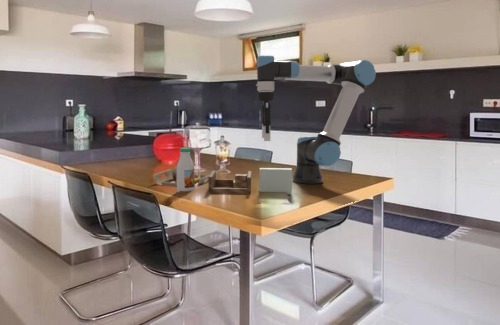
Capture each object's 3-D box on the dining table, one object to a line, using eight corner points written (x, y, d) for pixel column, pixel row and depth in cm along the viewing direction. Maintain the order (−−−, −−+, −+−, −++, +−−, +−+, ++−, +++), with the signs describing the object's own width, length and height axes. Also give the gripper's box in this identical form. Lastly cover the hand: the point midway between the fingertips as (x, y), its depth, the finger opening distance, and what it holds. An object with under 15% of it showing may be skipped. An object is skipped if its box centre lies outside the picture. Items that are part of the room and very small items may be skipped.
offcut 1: (247, 180, 182) (247, 174, 182) (246, 182, 178) (246, 176, 177) (236, 180, 182) (236, 173, 182) (235, 182, 178) (235, 175, 178)
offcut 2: (246, 186, 183) (246, 180, 183) (246, 188, 178) (246, 182, 178) (233, 186, 183) (233, 180, 183) (233, 188, 178) (233, 182, 178)
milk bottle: (177, 194, 172) (177, 149, 169) (176, 191, 180) (175, 147, 177) (195, 194, 174) (195, 148, 171) (193, 190, 182) (192, 146, 179)
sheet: (290, 192, 177) (291, 168, 175) (291, 194, 174) (292, 169, 172) (259, 192, 177) (259, 167, 175) (259, 194, 174) (259, 169, 172)
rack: (251, 189, 185) (251, 171, 184) (250, 197, 170) (250, 177, 168) (212, 188, 186) (212, 170, 184) (208, 196, 170) (208, 176, 169)
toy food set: (152, 185, 193) (152, 170, 192) (170, 179, 210) (170, 164, 209) (200, 189, 186) (200, 173, 185) (215, 182, 203) (215, 167, 202)
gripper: (255, 92, 188) (256, 137, 191) (258, 91, 163) (259, 142, 167) (271, 92, 188) (271, 136, 191) (277, 90, 164) (277, 142, 167)
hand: (266, 139), depth 179 cm, fingers open, 13 cm apart
